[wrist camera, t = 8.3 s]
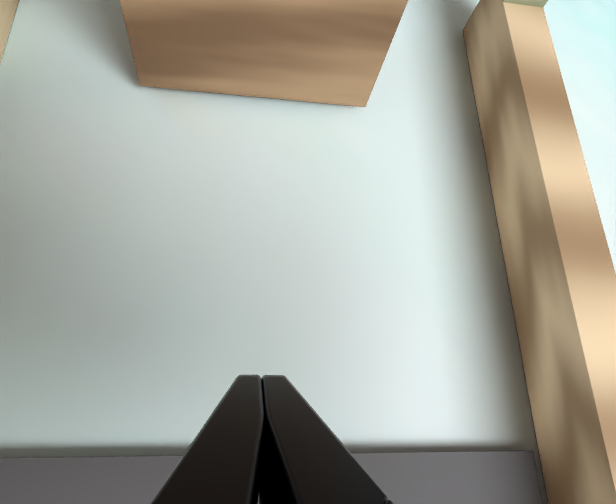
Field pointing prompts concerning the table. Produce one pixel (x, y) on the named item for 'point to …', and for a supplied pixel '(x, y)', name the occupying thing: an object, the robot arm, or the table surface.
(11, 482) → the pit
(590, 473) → the channel
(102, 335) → the table surface
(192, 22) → the wooden block
